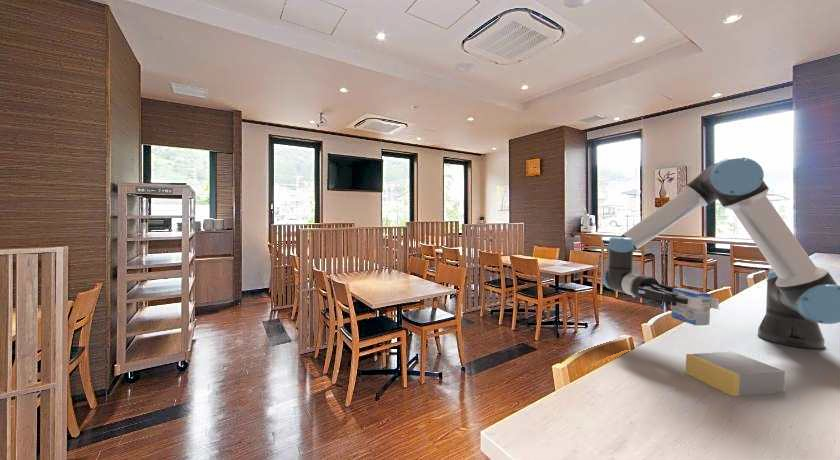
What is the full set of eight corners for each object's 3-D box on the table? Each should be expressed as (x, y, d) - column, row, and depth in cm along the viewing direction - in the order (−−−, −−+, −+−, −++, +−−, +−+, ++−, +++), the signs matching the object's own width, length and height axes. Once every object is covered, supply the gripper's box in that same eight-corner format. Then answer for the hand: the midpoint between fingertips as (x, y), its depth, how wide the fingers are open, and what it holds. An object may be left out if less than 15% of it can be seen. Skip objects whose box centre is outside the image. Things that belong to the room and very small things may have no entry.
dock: (731, 369, 94) (731, 351, 93) (783, 392, 82) (784, 371, 82) (685, 372, 92) (686, 354, 91) (732, 396, 80) (733, 375, 79)
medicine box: (670, 317, 101) (671, 287, 101) (684, 316, 102) (685, 287, 102) (695, 325, 94) (696, 294, 93) (710, 325, 94) (711, 293, 94)
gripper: (663, 296, 117) (736, 316, 94) (616, 298, 114) (679, 319, 91) (664, 274, 117) (737, 289, 93) (617, 275, 114) (680, 291, 91)
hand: (708, 304), depth 92 cm, fingers closed on medicine box, 4 cm apart
